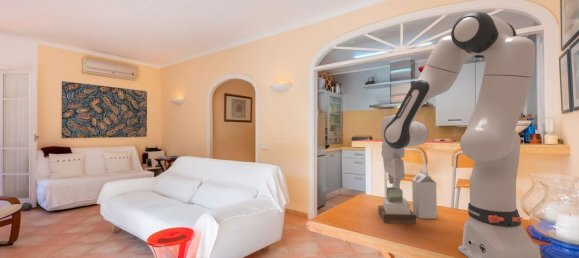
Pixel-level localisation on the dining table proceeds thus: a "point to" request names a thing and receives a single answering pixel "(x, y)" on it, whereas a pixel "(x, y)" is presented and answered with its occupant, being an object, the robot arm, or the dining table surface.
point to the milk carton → (424, 196)
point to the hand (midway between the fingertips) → (394, 185)
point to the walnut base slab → (396, 217)
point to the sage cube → (394, 195)
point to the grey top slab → (396, 207)
